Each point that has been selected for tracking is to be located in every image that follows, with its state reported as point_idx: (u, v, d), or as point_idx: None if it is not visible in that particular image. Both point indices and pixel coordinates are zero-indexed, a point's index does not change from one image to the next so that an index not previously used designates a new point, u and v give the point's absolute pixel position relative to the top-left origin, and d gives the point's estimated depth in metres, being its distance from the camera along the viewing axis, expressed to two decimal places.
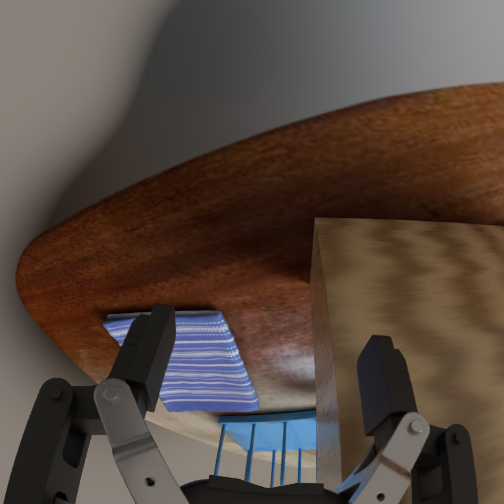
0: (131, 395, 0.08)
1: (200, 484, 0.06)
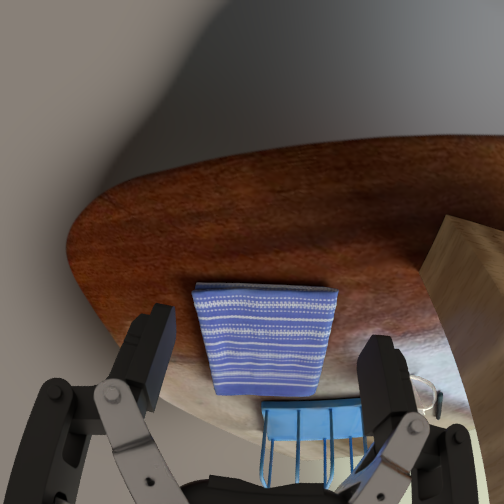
0: (131, 395, 0.08)
1: (200, 484, 0.06)
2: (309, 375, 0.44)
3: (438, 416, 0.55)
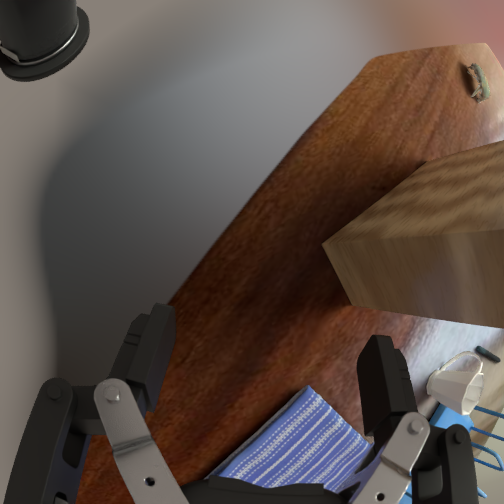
0: (131, 395, 0.08)
1: (200, 484, 0.06)
2: None
3: (497, 359, 0.49)
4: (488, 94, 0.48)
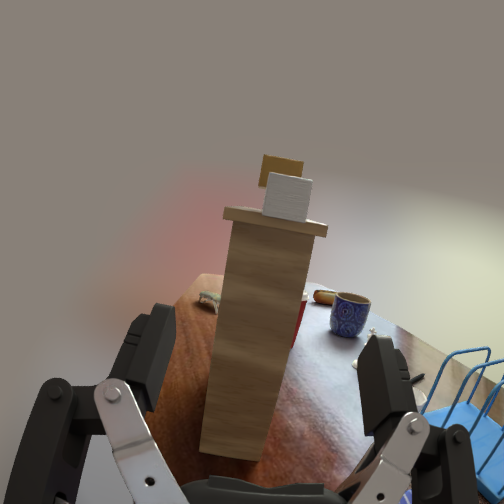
0: (131, 395, 0.08)
1: (200, 484, 0.06)
2: None
3: (419, 376, 0.62)
4: None
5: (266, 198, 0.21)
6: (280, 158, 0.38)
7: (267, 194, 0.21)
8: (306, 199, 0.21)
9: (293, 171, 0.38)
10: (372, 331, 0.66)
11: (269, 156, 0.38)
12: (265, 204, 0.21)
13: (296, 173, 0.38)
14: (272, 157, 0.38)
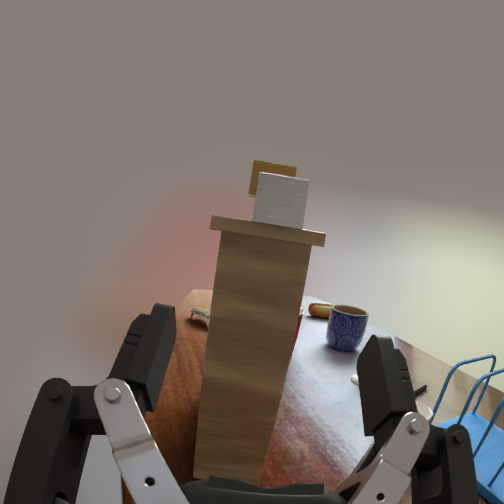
0: (131, 395, 0.08)
1: (200, 484, 0.06)
2: None
3: (422, 388, 0.59)
4: None
5: (257, 202, 0.18)
6: (271, 164, 0.35)
7: (258, 197, 0.18)
8: (302, 202, 0.18)
9: None
10: None
11: (259, 162, 0.35)
12: (256, 209, 0.19)
13: None
14: (263, 163, 0.35)
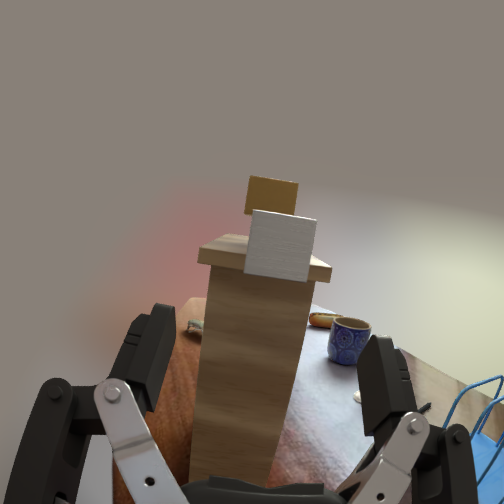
0: (131, 395, 0.08)
1: (200, 484, 0.06)
2: None
3: (426, 406, 0.55)
4: None
5: (249, 248, 0.15)
6: (270, 179, 0.32)
7: (251, 242, 0.15)
8: (308, 248, 0.15)
9: (286, 195, 0.32)
10: None
11: (256, 177, 0.31)
12: (248, 257, 0.15)
13: (290, 197, 0.32)
14: (260, 178, 0.31)
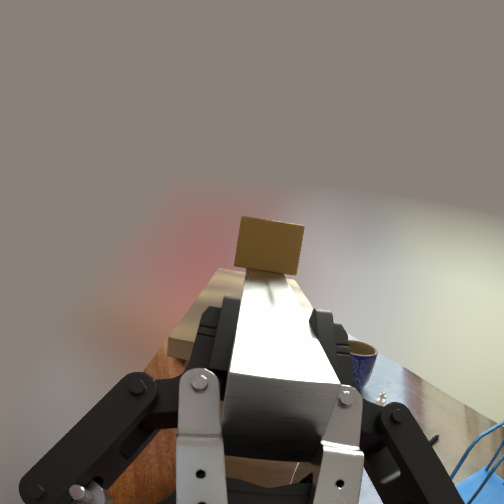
0: (219, 383, 0.09)
1: None
2: None
3: (433, 439, 0.48)
4: None
5: (224, 426, 0.08)
6: (267, 222, 0.25)
7: (226, 418, 0.08)
8: (321, 424, 0.08)
9: (288, 241, 0.25)
10: (381, 396, 0.52)
11: (250, 219, 0.25)
12: None
13: (293, 245, 0.25)
14: (255, 220, 0.25)
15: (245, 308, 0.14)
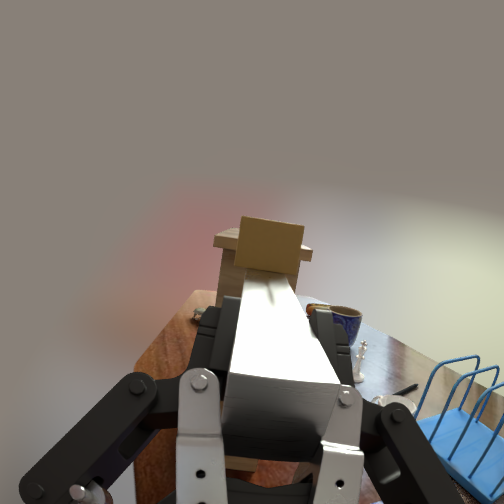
0: (219, 383, 0.09)
1: None
2: None
3: (412, 386, 0.63)
4: None
5: (224, 426, 0.08)
6: (267, 221, 0.25)
7: (226, 418, 0.08)
8: (321, 424, 0.08)
9: (288, 241, 0.25)
10: (363, 343, 0.68)
11: (250, 219, 0.25)
12: None
13: (293, 245, 0.25)
14: (255, 220, 0.25)
15: (245, 308, 0.14)
